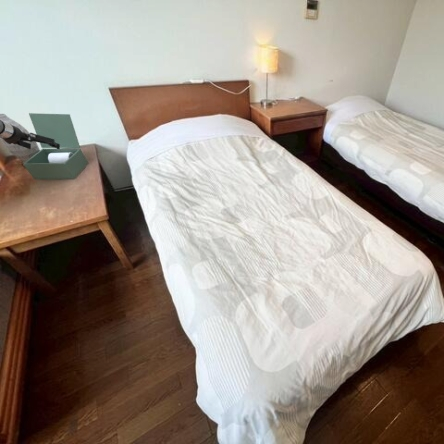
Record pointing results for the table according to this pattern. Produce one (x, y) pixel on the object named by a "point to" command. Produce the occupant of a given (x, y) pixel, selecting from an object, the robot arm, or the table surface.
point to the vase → (16, 149)
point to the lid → (55, 129)
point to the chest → (56, 165)
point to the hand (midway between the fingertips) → (44, 146)
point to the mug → (59, 157)
